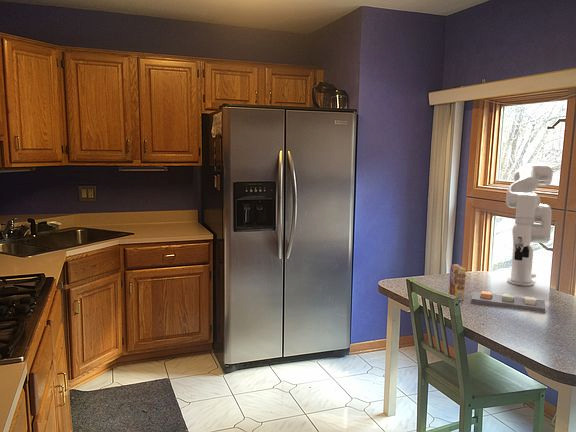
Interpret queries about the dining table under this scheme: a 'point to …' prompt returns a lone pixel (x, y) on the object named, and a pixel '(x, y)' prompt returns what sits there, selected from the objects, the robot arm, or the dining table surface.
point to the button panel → (508, 303)
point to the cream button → (530, 300)
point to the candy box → (457, 281)
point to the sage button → (507, 297)
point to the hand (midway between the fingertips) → (521, 258)
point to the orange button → (486, 294)
